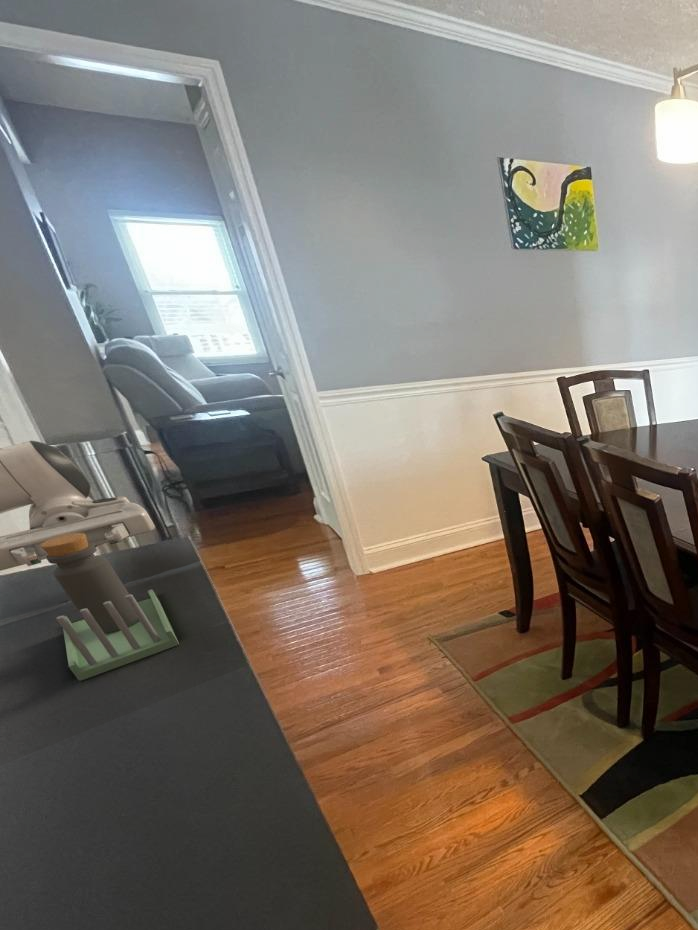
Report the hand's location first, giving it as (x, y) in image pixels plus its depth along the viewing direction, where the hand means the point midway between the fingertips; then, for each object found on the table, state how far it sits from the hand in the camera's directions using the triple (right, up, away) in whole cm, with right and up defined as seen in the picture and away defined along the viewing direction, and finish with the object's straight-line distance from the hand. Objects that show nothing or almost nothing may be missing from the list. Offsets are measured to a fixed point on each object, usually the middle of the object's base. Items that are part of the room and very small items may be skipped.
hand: (74, 549), depth 95 cm
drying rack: (+10, -14, -2) cm, 17 cm away
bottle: (+8, -12, -1) cm, 15 cm away
